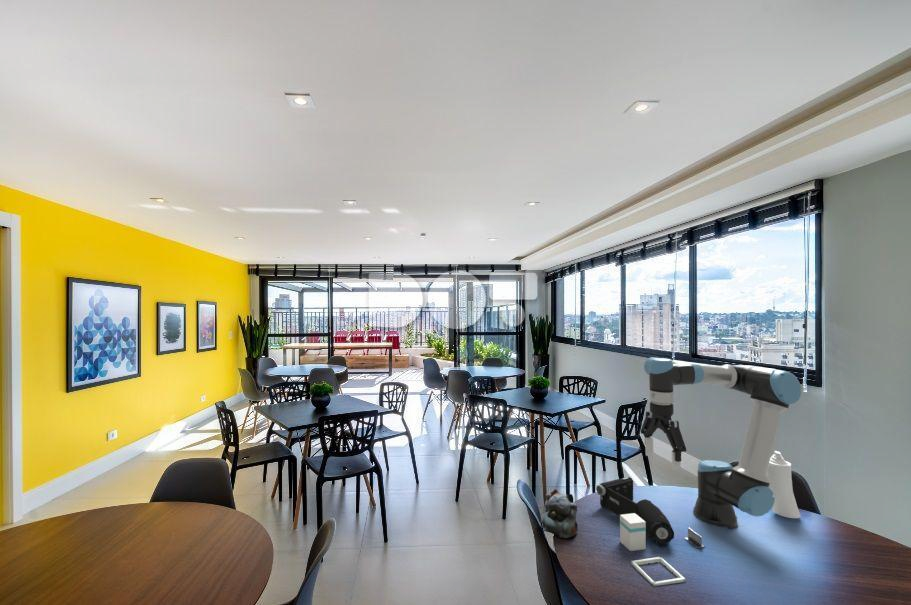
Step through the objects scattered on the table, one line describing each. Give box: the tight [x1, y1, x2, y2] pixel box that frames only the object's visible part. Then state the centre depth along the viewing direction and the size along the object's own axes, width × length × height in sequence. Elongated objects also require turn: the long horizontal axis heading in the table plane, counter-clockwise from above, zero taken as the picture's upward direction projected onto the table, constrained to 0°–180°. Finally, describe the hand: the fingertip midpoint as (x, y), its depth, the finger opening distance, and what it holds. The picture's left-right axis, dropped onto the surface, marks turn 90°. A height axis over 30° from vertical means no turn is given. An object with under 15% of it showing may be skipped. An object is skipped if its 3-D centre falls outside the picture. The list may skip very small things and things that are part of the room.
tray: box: [630, 556, 686, 587], centre depth 129 cm, size 11×11×2 cm
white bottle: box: [766, 450, 802, 519], centre depth 167 cm, size 12×11×25 cm
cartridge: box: [619, 513, 647, 552], centre depth 144 cm, size 6×6×10 cm
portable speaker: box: [635, 499, 675, 547], centre depth 153 cm, size 9×9×20 cm
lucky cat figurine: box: [540, 488, 579, 539], centre depth 155 cm, size 15×12×14 cm
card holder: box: [684, 527, 706, 549], centre depth 146 cm, size 3×6×4 cm, turn 11°
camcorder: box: [595, 476, 638, 518], centre depth 168 cm, size 20×18×10 cm
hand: (662, 462), depth 143 cm, fingers open, 13 cm apart
